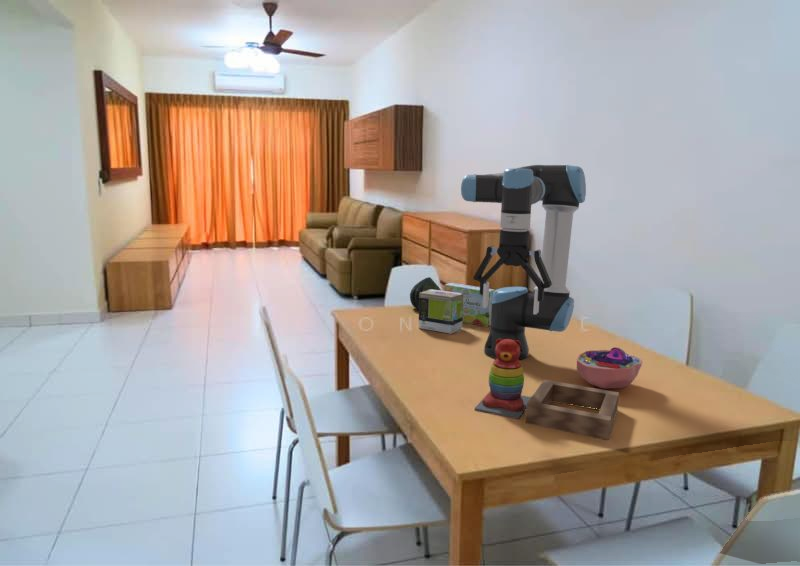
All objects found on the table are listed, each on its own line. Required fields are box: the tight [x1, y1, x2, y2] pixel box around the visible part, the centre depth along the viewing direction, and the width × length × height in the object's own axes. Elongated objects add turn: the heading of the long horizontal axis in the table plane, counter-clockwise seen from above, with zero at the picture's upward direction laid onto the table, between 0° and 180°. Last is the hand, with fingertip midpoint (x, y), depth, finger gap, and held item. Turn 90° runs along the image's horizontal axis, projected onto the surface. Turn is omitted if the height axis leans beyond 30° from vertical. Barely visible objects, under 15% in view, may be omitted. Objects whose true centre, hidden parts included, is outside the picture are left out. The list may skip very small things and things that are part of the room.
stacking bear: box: [482, 339, 525, 412], centre depth 159 cm, size 11×10×18 cm
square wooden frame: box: [524, 379, 620, 441], centre depth 153 cm, size 20×20×5 cm
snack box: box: [444, 282, 496, 328], centre depth 244 cm, size 21×6×15 cm, turn 55°
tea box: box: [418, 289, 463, 335], centre depth 232 cm, size 15×10×15 cm
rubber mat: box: [474, 391, 532, 420], centre depth 160 cm, size 12×15×1 cm
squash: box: [409, 276, 442, 310], centre depth 264 cm, size 14×15×15 cm
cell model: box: [576, 346, 643, 390], centre depth 175 cm, size 17×20×11 cm
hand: (510, 310), depth 155 cm, fingers open, 13 cm apart
